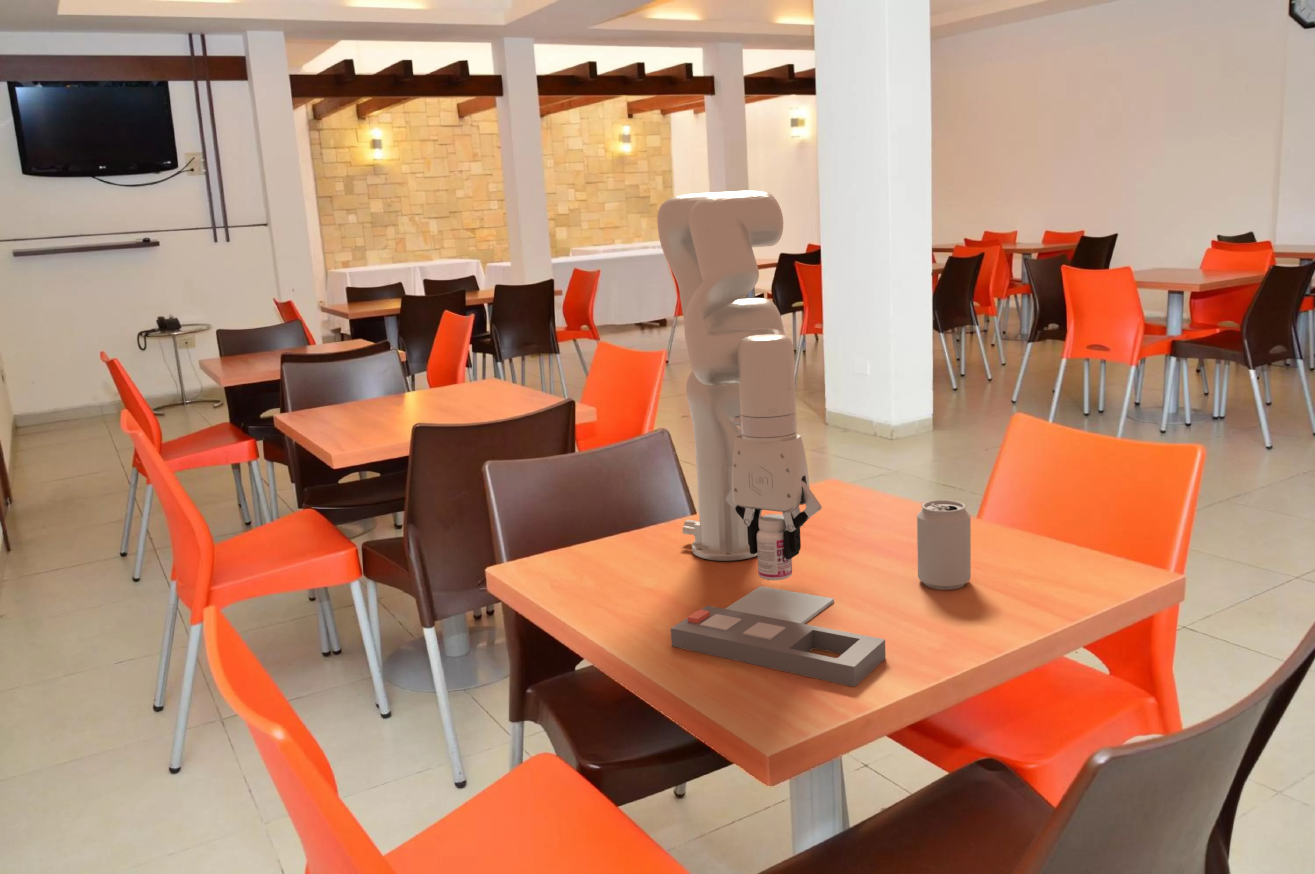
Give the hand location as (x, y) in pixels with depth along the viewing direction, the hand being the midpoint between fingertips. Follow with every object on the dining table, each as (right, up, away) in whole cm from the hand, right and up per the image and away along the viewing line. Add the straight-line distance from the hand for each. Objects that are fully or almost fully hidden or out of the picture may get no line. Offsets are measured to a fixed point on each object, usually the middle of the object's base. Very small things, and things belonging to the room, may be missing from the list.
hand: (774, 552), depth 145 cm
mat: (+1, -8, +2) cm, 8 cm away
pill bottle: (0, -4, +1) cm, 4 cm away
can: (+26, -6, +8) cm, 28 cm away
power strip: (-1, -11, -12) cm, 17 cm away
